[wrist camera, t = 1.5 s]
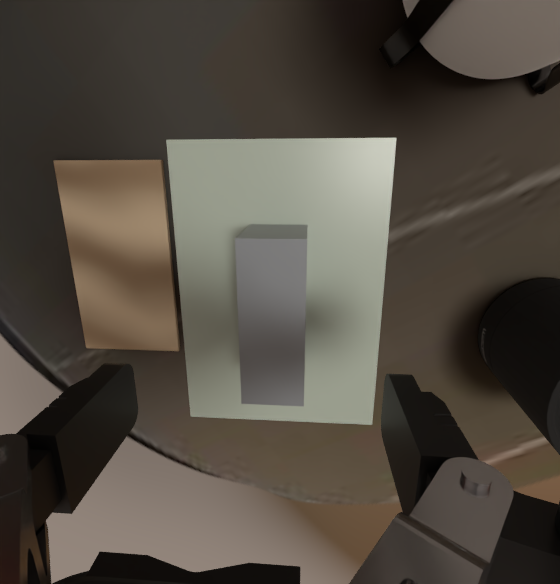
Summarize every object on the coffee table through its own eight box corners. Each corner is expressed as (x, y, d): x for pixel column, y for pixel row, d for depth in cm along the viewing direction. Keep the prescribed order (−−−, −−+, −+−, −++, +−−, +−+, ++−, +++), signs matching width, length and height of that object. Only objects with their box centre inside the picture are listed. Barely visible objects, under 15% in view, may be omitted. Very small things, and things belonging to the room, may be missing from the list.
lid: (180, 143, 21) (124, 130, 15) (387, 141, 20) (423, 127, 14) (200, 397, 26) (164, 469, 20) (366, 403, 25) (386, 482, 19)
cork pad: (57, 160, 28) (53, 160, 27) (162, 159, 27) (160, 159, 27) (88, 346, 32) (86, 348, 32) (180, 348, 32) (178, 351, 31)
